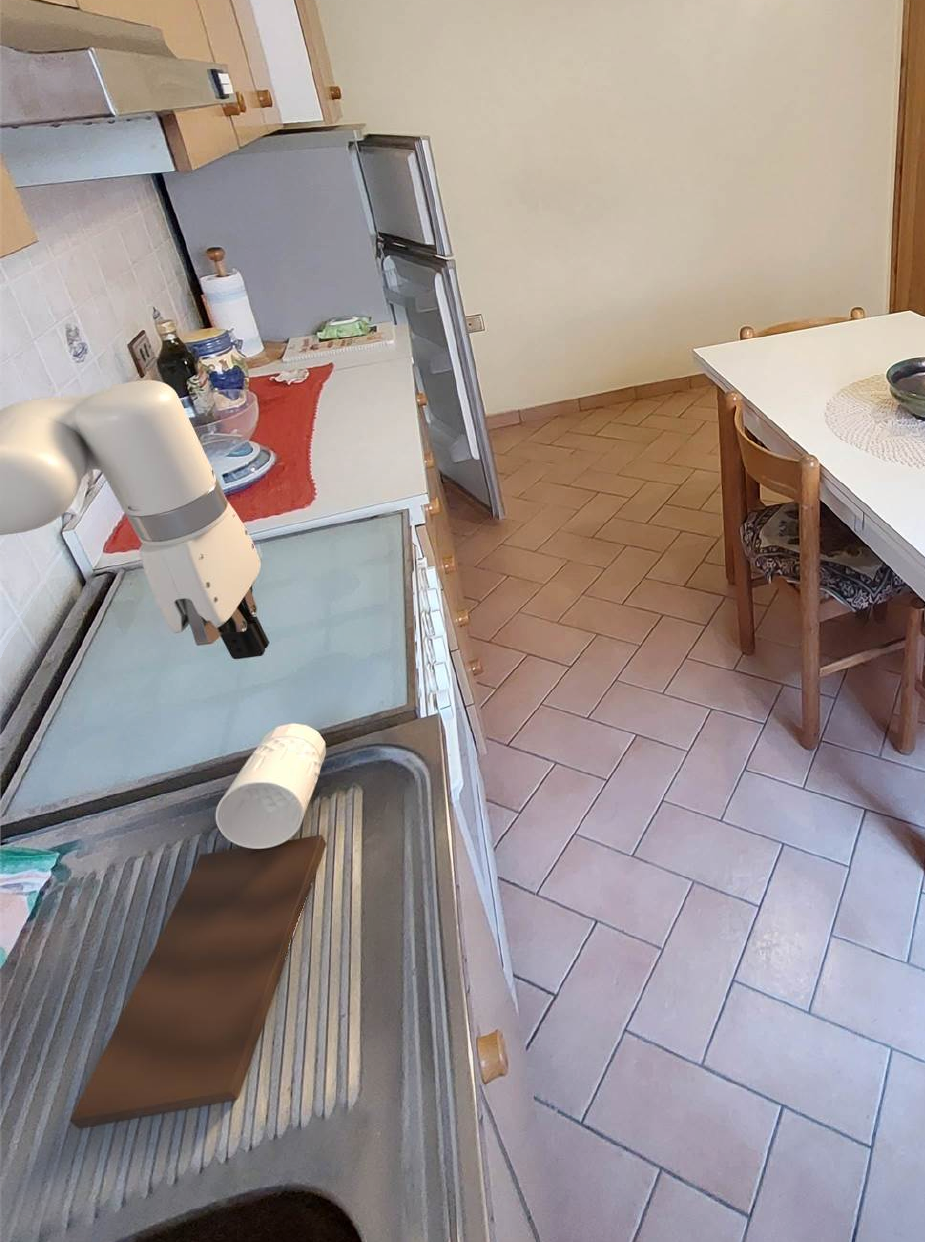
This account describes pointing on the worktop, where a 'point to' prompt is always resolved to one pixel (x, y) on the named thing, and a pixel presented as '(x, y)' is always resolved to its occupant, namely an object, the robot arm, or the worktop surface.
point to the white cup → (272, 788)
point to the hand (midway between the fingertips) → (251, 651)
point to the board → (204, 986)
